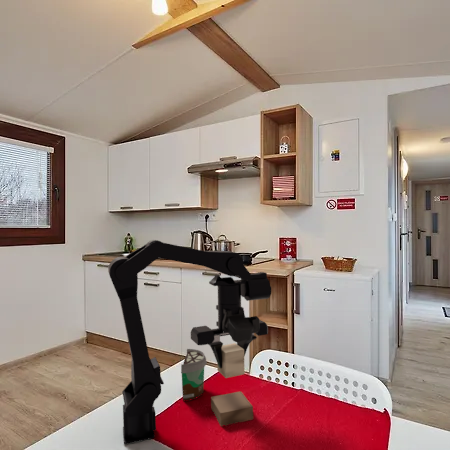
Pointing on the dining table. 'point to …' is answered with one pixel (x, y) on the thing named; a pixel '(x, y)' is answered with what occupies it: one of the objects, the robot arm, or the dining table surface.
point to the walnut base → (231, 408)
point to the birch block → (232, 361)
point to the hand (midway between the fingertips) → (230, 365)
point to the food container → (193, 374)
